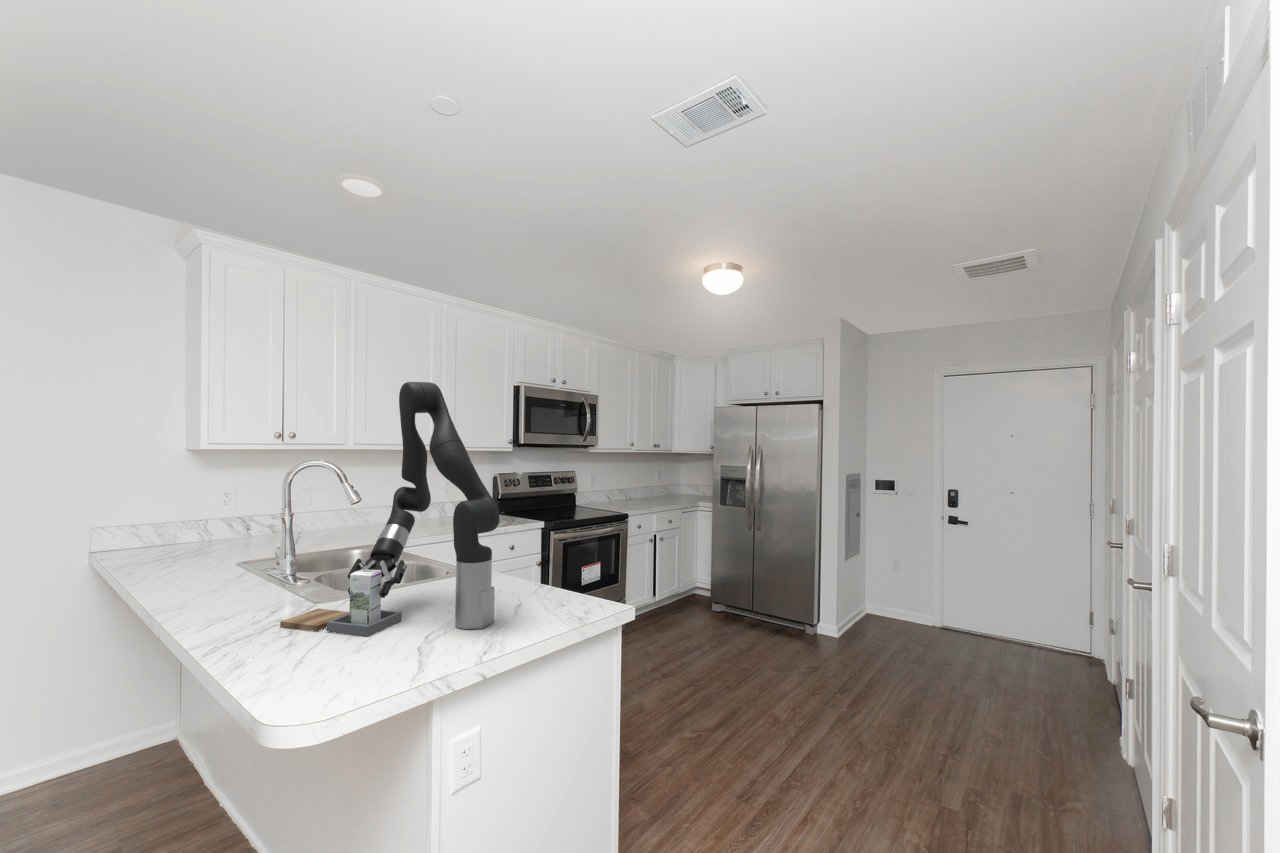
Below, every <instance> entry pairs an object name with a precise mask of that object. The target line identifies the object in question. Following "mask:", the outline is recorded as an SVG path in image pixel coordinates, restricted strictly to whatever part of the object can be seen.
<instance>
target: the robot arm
mask: <svg viewBox="0 0 1280 853" xmlns="http://www.w3.org/2000/svg"><path fill="white" fill-rule="evenodd" d="M398 394H399V396H398V398H399V400H398V402H399V404H398V405H399V406H398V407H399V408H398V409H399V417H400V428H401V436H402V438H401V439H402V440H401V441H402V461H401V478H402V479H403V480H404V481H406V482H408V483H411V484H412V485H414V487H411V486H401V487H398V489H396V490H395V492H394V494H393V497H392V498H393V500H392V507H391V511H390V515H389V517H388V520H387V522H386V524H385V525H384V528H383V529H382V530H381V532H380V534H379V535H378V538H377V540H376V542H375V544H374V546H373V547H372V549H371V552H370V556H369V558H368V559H367V560H362V559H361V558H357V559H356V561H355V562H354V564H353V565H352V567H351V569H350V570H349V572H348V574H347V576H346V577H347V579H349V581H350V574H352V573H354V572H356V571H358V570H381V571H382V578H384V579H385V581H383V584H382V585H381V590H380V592H379V595H380V597H381V599H382V598H383V599H384V598H386V597H387V596H388V595H389V592H390V590H391V588H392V587H393V586H394V585H396V584H397V585H400V584H401V583H402V580H403V578H404V575H405V572H406V570H407V564H406V563H405V561H404V560H403V559H401V558H400V557H401V556H402V553H403V551H404V549H405V547H406V545H407V542H408V539H409V536H410V534H411V531H412V530H413V527H414V524H415V522H416V519H415V516H414V514H412V513H411V512H418V513H422V512H426V510H428V509H429V507H430V505H431V500H432V499H431V492H430V488H429V483H428V477H427V471H428V470H427V468H428V452H427V451H428V450H427V448H426V445H425V443H424V440H423V439H422V438H421V435H420V434H419V431H418V428H417V426H416V414H426V413H427V414H428V415H429V416H430V417H431V418H430V419H431V420H432V423H433V430H432V434H431V437H430V440H429V441H430V442H429V445H428V446H429V447H428V448H429V453H430V455H431V458H432V460H433V462H434V465H435V467H436V468H437V470H438V472H439V473H440V474H441V475H442V476H443V477H444V478H445V479H446V480H448V481H449V483H451V484H453V485H454V486H455V487H456V488H458V490H460V491H461V492H462V494H463V496H465V498H466V500H463V501H460V502H459V503H457V504H456V505H455V508H454V511H453V515H452V516H453V517H452V518H453V519H452V527H453V528H452V529H453V530H452V532H453V547H454V552H455V558H456V560H455V603H454V604H455V605H454V606H455V608H454V610H455V612H454V613H455V614H454V618H455V619H454V626H455V627H456V628H458V629H460V630H462V629H463V630H475V629H477V630H478V629H480V630H481V629H485V628H486V627H487V626H489V625H491V624H492V623H495V590H496V589H495V586H493V585H492V575H493V574H492V570H493V569H492V567H493V564H492V563H493V550H492V548H491V547H490V546H486V545H482V544H481V543H480V541H479V534H485V533H490V532H493V531H495V530H496V529H497V527H498V526H499V524H500V512H499V510H498V509H499V508H498V506H497V503H496V502H495V500H494V498H493V497H492V495H491V494H490V492H489V490H488V489H487V488H486V486H485V485H484V483H483V481H482V480H481V478H480V476H479V474H478V471H477V470H476V468H475V466H474V464H473V462H472V461H471V458H470V456H469V453H468V451H467V449H466V447H465V445H464V443H463V441H462V439H461V437H460V435H459V433H458V431H457V428H456V427H455V424H454V421H453V420H452V418H451V414H450V412H449V408H448V406H447V403H446V401H445V397H444V395H443V392H442V390H441V389H440V387H439V386H438V385H437V384H436V383H435V382H428V381H406V382H404V383H403V384H402V385H401V387H400V390H399V393H398ZM409 511H411V512H409ZM400 559H401V560H400ZM393 570H395V572H394V575H393V576H392V573H391V572H393ZM347 593H348V594H349V596H350V586H349V587H348V589H347Z"/></svg>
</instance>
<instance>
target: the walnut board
mask: <svg viewBox="0 0 1280 853" xmlns="http://www.w3.org/2000/svg"><path fill="white" fill-rule="evenodd" d="M349 613H350V611H344V610H336V609H335V610H334V609H333V610H332V609H326V608H316V609H312V610H310V611H306V612H304V613H302V614H298V615H295V616H292V617H290V618H287V619H283V620H280V623H279V624H280V625H279V627H280V628H282V627H285V628H284V629H290V628H294V629H293V630H298V629H305V630H304V631H306V630H313V631H312V632H314V631H318V632H320V631H319V630H321V629H323V630H325V629H324V628H326V627H327V622H328V621H331V620H333V619H336V618H338V617H341V616H344V615H346V614H349ZM321 631H322V630H321Z"/></svg>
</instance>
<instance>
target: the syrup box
mask: <svg viewBox="0 0 1280 853" xmlns="http://www.w3.org/2000/svg"><path fill="white" fill-rule="evenodd" d="M349 587H350V595H349V612H350V614H349V623H351V624H359V625H369V624H372V623H374V622H377V621H379V620H381V610H382V608H381V607H382V598H381V597H380V595H379V592H380V590H381V588H382V571H381V570H358V571H356V572H354V573H352V574H350V580H349Z"/></svg>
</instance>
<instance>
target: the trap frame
mask: <svg viewBox="0 0 1280 853" xmlns="http://www.w3.org/2000/svg"><path fill="white" fill-rule="evenodd" d="M349 614H350V613H349ZM349 614H346V615H344V616H341V617H338V618H336V619H333V620H331V621H328V622H327V628H326V629H325V630H326V631H329V632H328V633H332V632H336V633H335V634H340V633H343V634H342V635H348V634H349V636H357V637H365V636H366V637H367V638H368V637H369V636H372V635H374V633H375V634H377V633H379V632H381V631H383V629H384V630H385V628H386V629H388V628H390V627H393V626H394V624H395V625H398V624H400V623H401V622H402V616H403V614H402V611H394V610H393V611H392V610H384V609H381V620H379V621H377V622H374V623H372V624H369V625H359V624H351V623H349ZM392 625H393V626H392ZM387 627H388V628H387ZM376 632H377V633H376Z"/></svg>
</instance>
